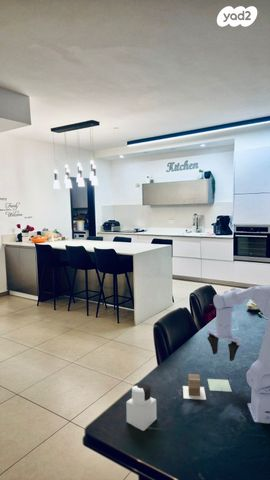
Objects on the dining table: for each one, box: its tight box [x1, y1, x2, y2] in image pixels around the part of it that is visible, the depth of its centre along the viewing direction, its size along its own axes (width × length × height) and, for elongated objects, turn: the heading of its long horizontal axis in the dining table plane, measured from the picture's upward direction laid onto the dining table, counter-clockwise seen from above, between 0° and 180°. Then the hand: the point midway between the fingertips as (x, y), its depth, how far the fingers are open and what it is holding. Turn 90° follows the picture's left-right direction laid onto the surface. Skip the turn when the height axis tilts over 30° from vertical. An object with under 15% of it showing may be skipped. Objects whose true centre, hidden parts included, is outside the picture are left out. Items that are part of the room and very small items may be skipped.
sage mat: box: [207, 378, 233, 392], centre depth 121 cm, size 8×8×1 cm
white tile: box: [182, 385, 207, 401], centre depth 117 cm, size 8×8×1 cm
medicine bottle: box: [125, 382, 157, 432], centre depth 101 cm, size 7×7×12 cm
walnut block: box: [187, 373, 201, 396], centre depth 116 cm, size 4×4×6 cm
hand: (223, 356), depth 124 cm, fingers open, 7 cm apart
